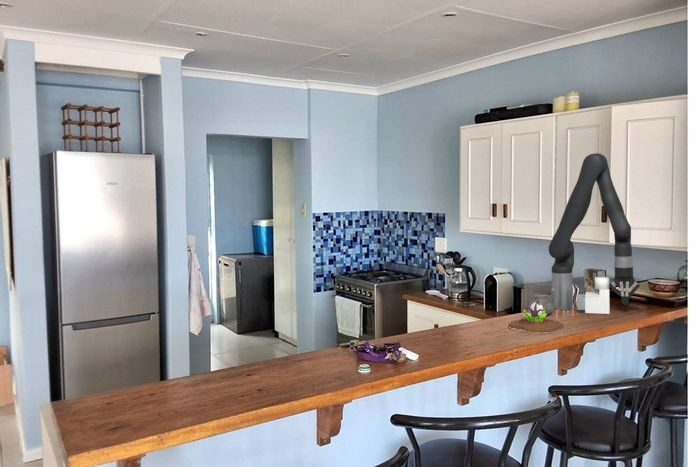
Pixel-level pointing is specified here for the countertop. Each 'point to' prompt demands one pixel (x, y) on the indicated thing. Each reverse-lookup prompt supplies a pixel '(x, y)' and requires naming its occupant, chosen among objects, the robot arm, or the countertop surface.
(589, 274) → the coffee box
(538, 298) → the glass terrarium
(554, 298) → the robot arm
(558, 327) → the plant
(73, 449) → the countertop surface
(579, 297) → the duct stub
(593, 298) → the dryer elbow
